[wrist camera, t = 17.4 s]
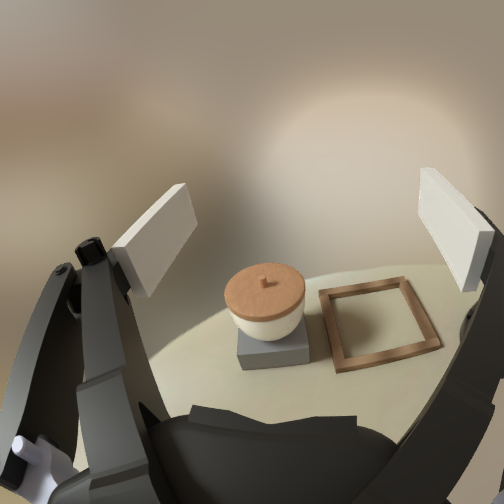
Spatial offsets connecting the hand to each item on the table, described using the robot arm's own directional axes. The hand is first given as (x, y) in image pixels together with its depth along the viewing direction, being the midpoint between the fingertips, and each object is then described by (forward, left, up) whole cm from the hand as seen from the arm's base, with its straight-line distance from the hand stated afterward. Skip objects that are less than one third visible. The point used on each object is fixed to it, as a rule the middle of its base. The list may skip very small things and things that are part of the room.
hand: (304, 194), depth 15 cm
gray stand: (+5, -15, -30) cm, 34 cm away
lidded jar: (+5, -15, -26) cm, 30 cm away
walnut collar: (-12, -16, -30) cm, 36 cm away
